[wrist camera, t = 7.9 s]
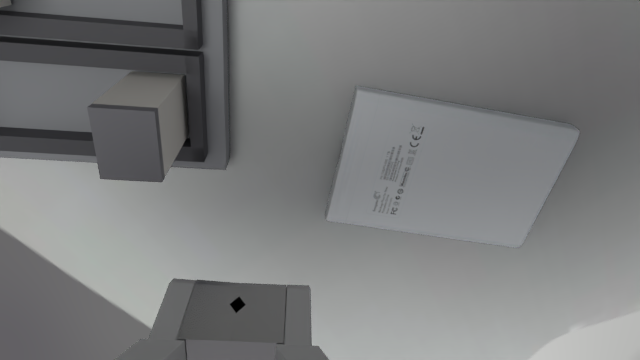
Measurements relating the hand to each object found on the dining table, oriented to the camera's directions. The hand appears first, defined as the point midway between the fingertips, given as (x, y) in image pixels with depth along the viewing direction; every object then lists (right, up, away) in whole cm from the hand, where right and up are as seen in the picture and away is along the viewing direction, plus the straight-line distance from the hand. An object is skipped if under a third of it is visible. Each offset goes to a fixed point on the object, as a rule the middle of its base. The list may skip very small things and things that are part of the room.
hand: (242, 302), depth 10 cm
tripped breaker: (-6, +6, +11) cm, 14 cm away
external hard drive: (+9, +4, +16) cm, 19 cm away
